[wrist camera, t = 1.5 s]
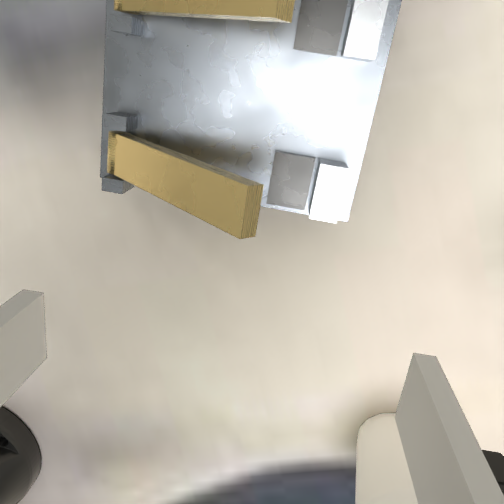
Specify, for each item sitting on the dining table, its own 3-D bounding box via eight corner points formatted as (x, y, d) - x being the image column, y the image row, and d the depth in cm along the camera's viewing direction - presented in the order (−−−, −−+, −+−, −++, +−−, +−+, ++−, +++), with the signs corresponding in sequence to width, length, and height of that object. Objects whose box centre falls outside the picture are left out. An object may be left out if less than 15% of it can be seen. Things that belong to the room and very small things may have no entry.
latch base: (118, 171, 40) (84, 188, 34) (129, -45, 34) (90, -74, 28) (342, 212, 39) (350, 236, 33) (393, -3, 33) (415, -23, 27)
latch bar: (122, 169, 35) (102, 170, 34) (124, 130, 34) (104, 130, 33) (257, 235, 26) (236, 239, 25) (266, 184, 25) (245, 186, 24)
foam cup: (351, 393, 46) (369, 505, 33) (445, 407, 45) (497, 526, 33) (335, 465, 49) (347, 590, 37) (422, 479, 48) (462, 611, 36)
